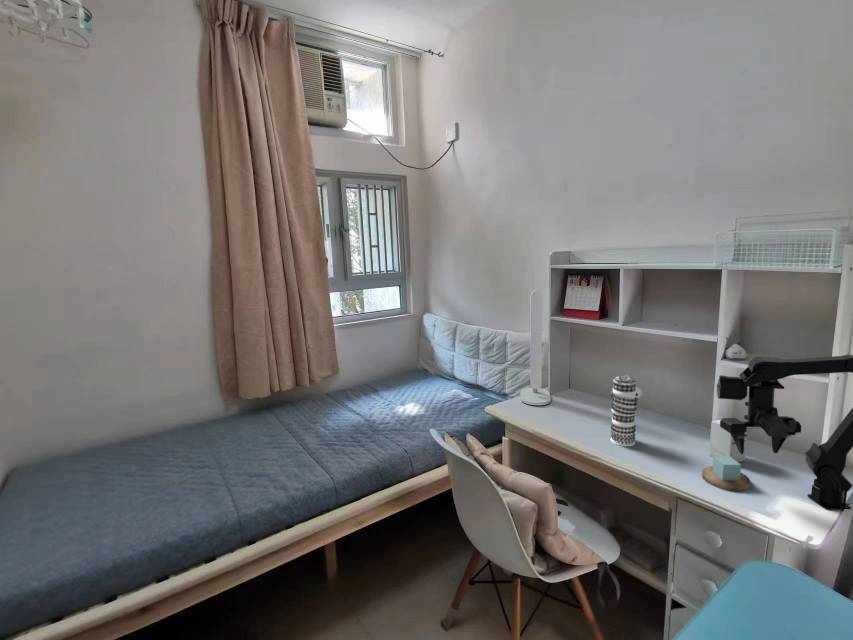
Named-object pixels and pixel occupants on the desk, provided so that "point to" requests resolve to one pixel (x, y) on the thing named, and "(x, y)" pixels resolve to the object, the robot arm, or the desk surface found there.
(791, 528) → the desk surface
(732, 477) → the teal block
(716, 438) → the supplement box
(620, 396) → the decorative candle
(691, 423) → the desk surface
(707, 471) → the walnut base
